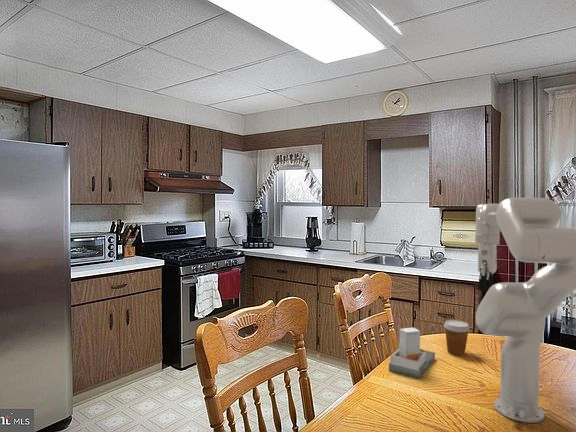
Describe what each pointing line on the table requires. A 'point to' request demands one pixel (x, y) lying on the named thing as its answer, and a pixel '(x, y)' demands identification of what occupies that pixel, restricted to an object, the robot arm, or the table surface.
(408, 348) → the skincare box
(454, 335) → the disposable coffee cup
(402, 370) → the divided tray with ball
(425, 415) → the table surface
